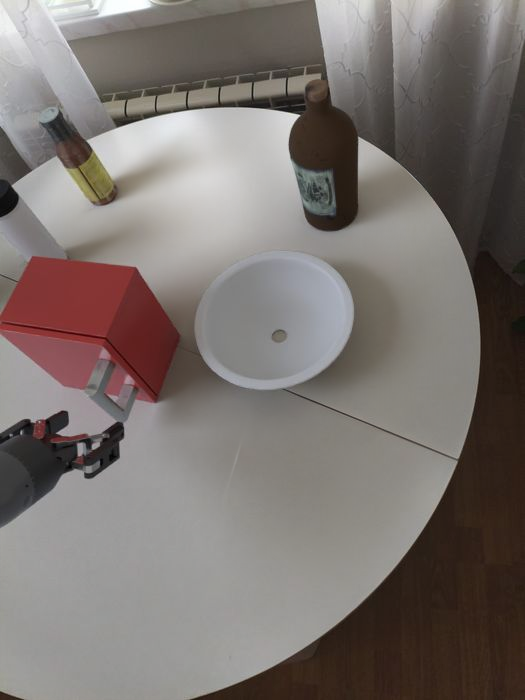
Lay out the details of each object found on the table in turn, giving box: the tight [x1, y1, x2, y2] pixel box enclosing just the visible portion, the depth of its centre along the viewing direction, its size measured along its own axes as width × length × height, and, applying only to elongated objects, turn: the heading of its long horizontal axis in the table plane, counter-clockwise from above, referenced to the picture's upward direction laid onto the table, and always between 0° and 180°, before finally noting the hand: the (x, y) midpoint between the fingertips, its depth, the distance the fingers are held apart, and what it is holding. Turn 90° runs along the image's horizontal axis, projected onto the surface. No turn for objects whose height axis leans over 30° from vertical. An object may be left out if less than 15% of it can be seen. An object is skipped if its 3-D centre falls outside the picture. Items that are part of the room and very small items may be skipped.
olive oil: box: [287, 78, 359, 232], centre depth 87 cm, size 11×11×25 cm
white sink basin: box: [193, 250, 355, 391], centre depth 85 cm, size 24×24×7 cm
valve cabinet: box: [0, 256, 182, 397], centre depth 83 cm, size 11×17×19 cm, turn 75°
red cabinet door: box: [0, 323, 159, 424], centre depth 79 cm, size 6×17×19 cm, turn 75°
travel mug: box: [0, 178, 70, 264], centre depth 96 cm, size 6×7×20 cm
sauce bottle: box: [37, 106, 117, 206], centre depth 102 cm, size 7×6×20 cm
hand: (93, 422), depth 74 cm, fingers open, 8 cm apart
